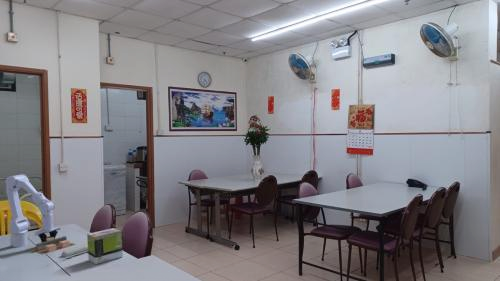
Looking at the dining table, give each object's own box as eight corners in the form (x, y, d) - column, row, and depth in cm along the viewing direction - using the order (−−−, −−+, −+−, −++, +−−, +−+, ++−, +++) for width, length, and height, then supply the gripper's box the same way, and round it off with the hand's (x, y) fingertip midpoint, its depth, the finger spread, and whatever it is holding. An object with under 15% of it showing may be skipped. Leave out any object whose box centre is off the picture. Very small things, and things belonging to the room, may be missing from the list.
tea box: (115, 253, 201) (114, 227, 200) (122, 257, 194) (122, 230, 193) (87, 260, 190) (86, 233, 190) (94, 265, 183) (94, 236, 183)
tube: (65, 254, 190) (106, 240, 211) (60, 249, 192) (101, 236, 213) (64, 262, 191) (105, 248, 212) (58, 258, 193) (99, 244, 215)
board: (25, 252, 205) (25, 249, 205) (58, 242, 223) (58, 240, 223) (42, 257, 196) (42, 254, 196) (76, 246, 214) (76, 244, 213)
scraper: (29, 249, 206) (29, 240, 206) (58, 241, 220) (57, 233, 220) (38, 251, 201) (38, 242, 201) (66, 243, 216) (66, 235, 216)
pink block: (45, 251, 202) (45, 245, 202) (52, 248, 205) (52, 243, 205) (49, 252, 200) (49, 246, 200) (56, 250, 203) (56, 244, 203)
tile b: (59, 247, 209) (58, 241, 209) (65, 245, 212) (65, 240, 212) (63, 248, 207) (62, 242, 207) (69, 246, 210) (69, 241, 210)
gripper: (38, 225, 202) (39, 249, 203) (63, 219, 215) (63, 242, 215) (32, 224, 206) (32, 247, 206) (56, 218, 218) (57, 240, 219)
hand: (48, 244), depth 211 cm, fingers closed on scraper, 4 cm apart
